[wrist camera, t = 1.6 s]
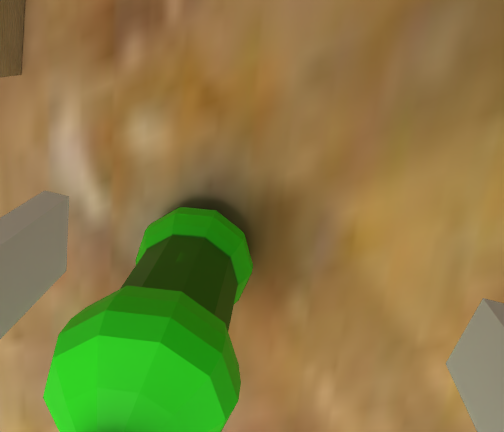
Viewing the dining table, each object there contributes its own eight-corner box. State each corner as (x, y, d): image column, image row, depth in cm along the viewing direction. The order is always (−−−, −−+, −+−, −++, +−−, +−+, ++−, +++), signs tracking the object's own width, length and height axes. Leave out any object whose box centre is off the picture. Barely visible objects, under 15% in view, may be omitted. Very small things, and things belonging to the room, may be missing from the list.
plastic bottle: (275, 215, 36) (252, 516, 13) (232, 303, 40) (160, 647, 18) (169, 171, 35) (-47, 414, 13) (138, 266, 40) (-68, 577, 17)
